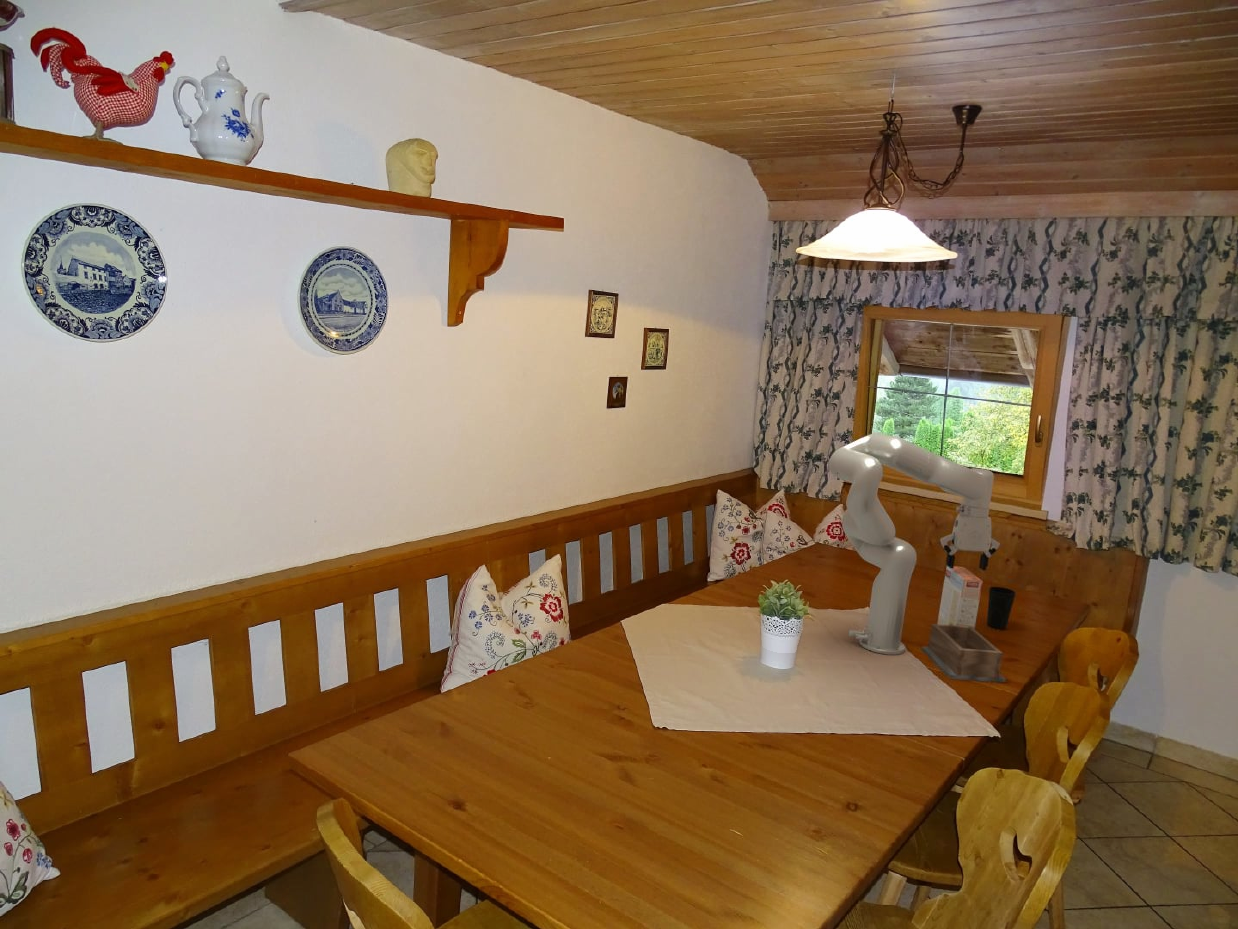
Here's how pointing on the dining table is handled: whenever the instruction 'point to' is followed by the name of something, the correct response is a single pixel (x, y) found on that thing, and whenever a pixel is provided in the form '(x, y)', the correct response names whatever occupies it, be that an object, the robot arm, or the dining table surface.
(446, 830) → the dining table surface
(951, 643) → the box stand
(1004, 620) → the cup
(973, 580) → the cracker box
